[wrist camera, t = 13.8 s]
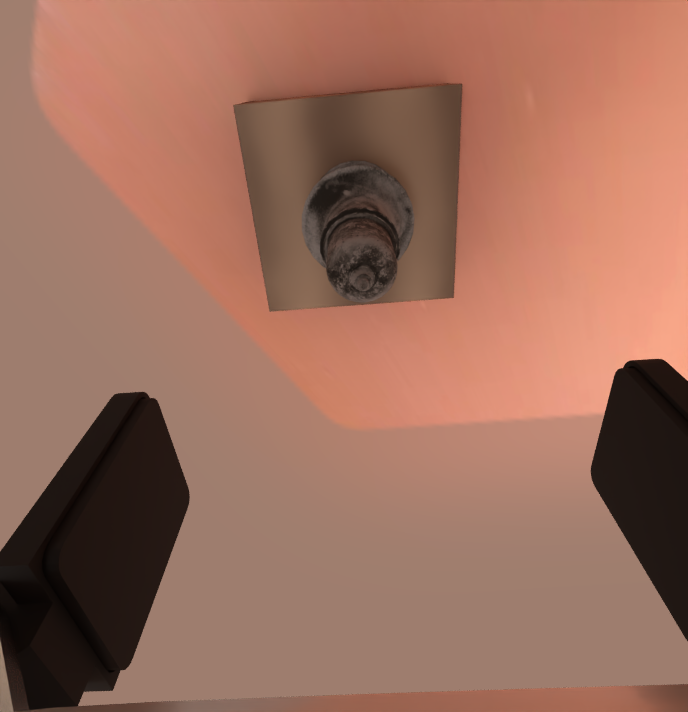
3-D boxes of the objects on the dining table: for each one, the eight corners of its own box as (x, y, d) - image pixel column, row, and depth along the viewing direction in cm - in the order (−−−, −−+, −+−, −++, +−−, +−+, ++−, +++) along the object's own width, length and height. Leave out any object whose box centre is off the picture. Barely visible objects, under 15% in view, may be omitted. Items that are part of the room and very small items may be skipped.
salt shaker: (395, 264, 29) (422, 365, 19) (300, 249, 29) (276, 345, 19) (417, 164, 26) (464, 219, 16) (312, 146, 26) (291, 191, 16)
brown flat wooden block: (447, 83, 28) (462, 83, 24) (442, 275, 34) (453, 297, 31) (246, 102, 28) (233, 105, 25) (277, 288, 34) (269, 311, 31)
